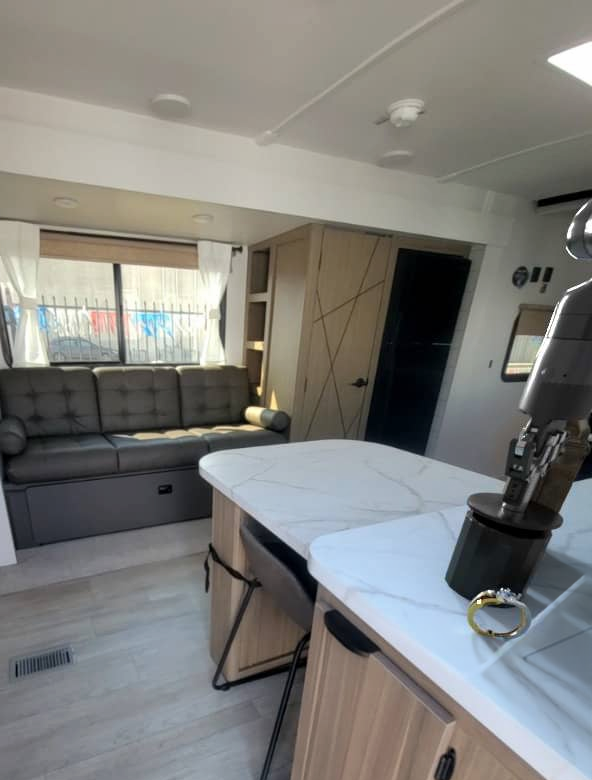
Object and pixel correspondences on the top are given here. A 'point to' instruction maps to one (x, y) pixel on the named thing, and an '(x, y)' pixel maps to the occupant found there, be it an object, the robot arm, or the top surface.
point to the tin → (494, 558)
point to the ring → (502, 597)
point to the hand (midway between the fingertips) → (516, 501)
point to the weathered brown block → (563, 467)
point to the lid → (516, 510)
